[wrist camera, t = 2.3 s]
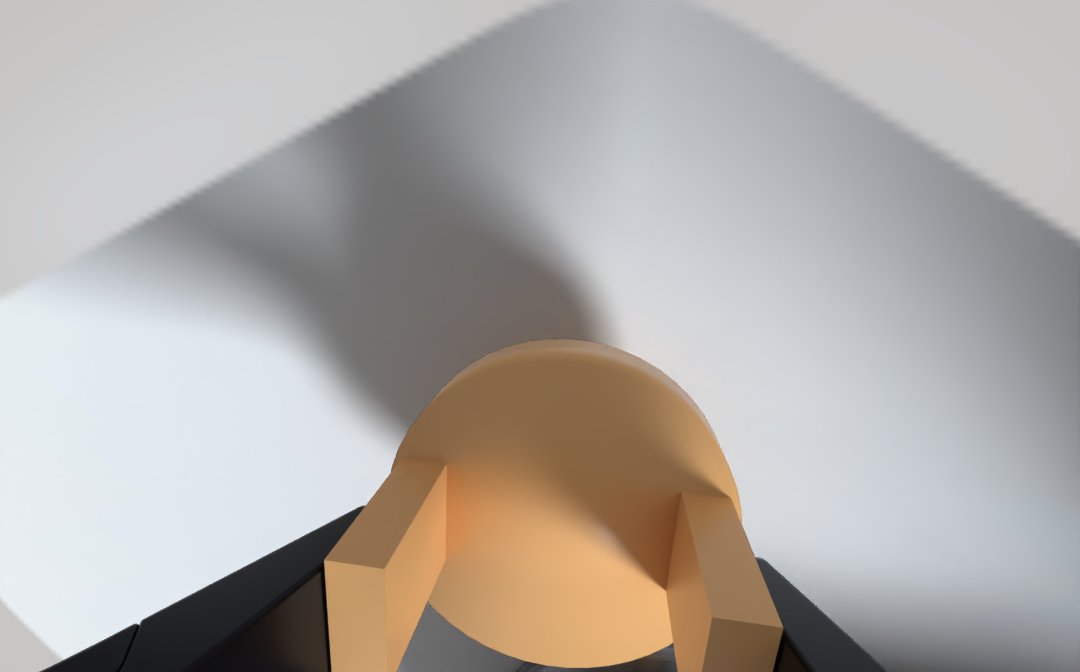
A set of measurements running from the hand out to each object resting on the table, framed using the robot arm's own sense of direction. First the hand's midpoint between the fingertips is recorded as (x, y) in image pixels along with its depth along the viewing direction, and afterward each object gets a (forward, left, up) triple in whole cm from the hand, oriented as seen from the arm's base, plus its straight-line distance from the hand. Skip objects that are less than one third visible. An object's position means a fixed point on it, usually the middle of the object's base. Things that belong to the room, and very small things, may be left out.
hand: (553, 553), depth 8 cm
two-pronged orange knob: (0, 0, -4) cm, 4 cm away
